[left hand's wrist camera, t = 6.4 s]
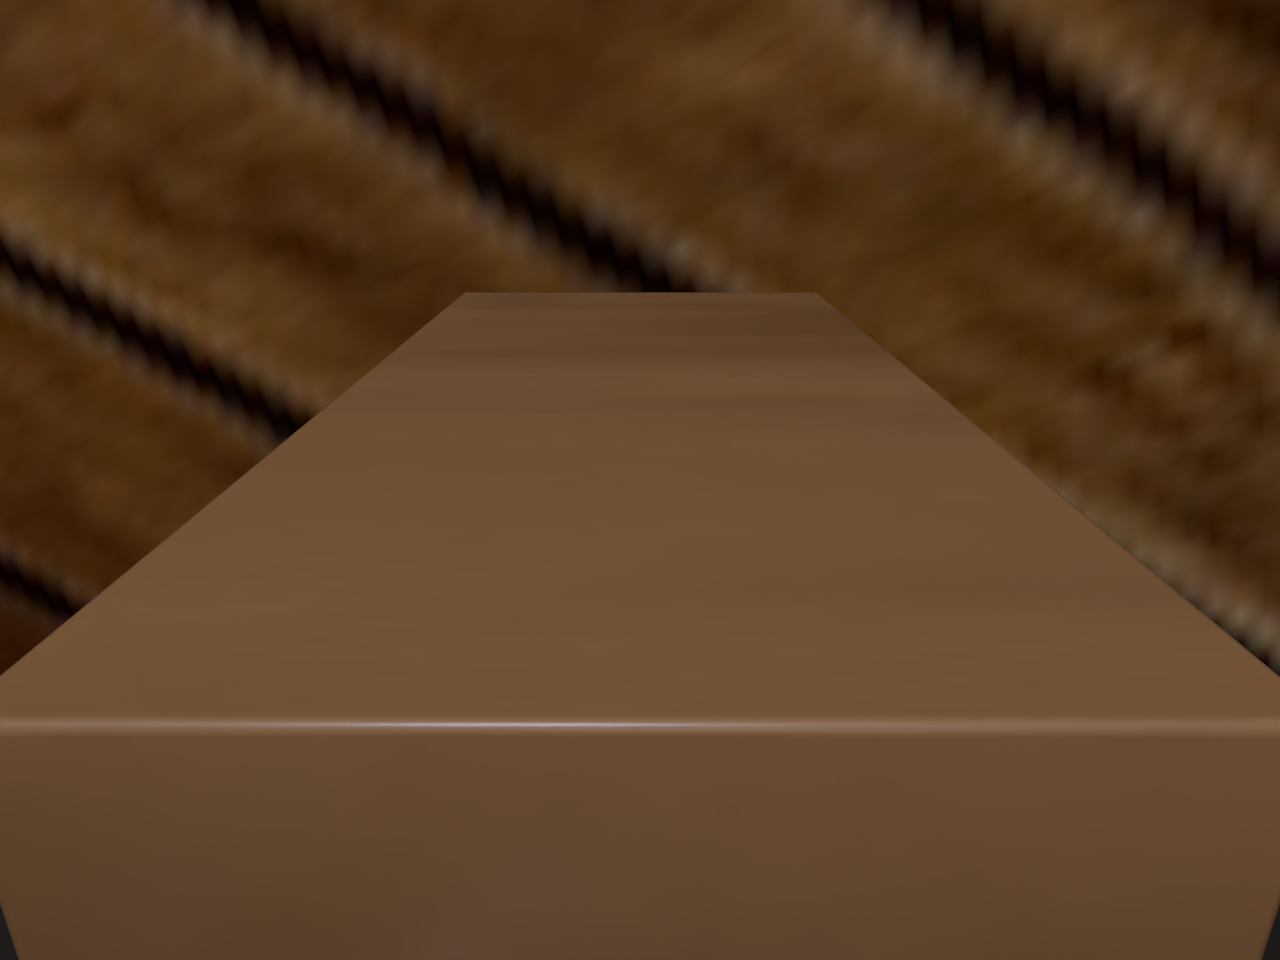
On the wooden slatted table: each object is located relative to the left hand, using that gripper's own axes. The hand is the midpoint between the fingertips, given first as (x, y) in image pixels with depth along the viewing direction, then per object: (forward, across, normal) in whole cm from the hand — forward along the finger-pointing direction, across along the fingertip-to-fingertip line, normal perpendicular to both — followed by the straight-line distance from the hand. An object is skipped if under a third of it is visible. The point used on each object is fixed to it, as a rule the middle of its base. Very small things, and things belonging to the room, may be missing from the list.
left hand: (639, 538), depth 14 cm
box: (+3, 0, -7) cm, 7 cm away
